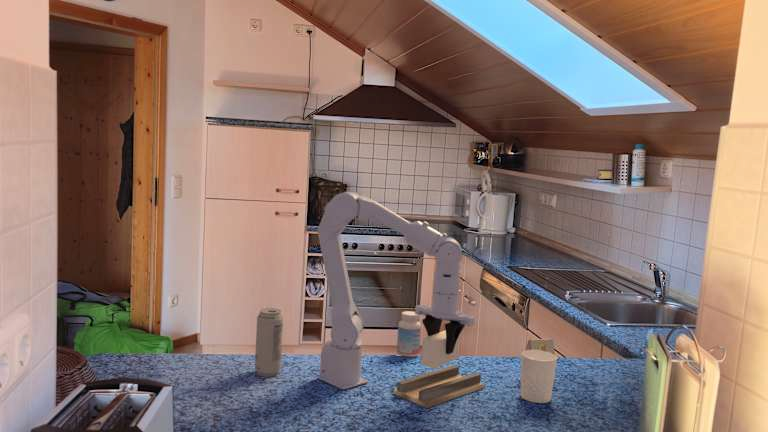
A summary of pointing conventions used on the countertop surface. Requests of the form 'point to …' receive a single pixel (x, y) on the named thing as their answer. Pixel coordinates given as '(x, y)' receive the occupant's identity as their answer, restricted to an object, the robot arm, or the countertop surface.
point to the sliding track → (438, 386)
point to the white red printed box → (541, 345)
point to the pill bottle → (409, 335)
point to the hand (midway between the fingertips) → (441, 350)
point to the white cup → (537, 375)
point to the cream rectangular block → (437, 351)
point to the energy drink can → (268, 342)
